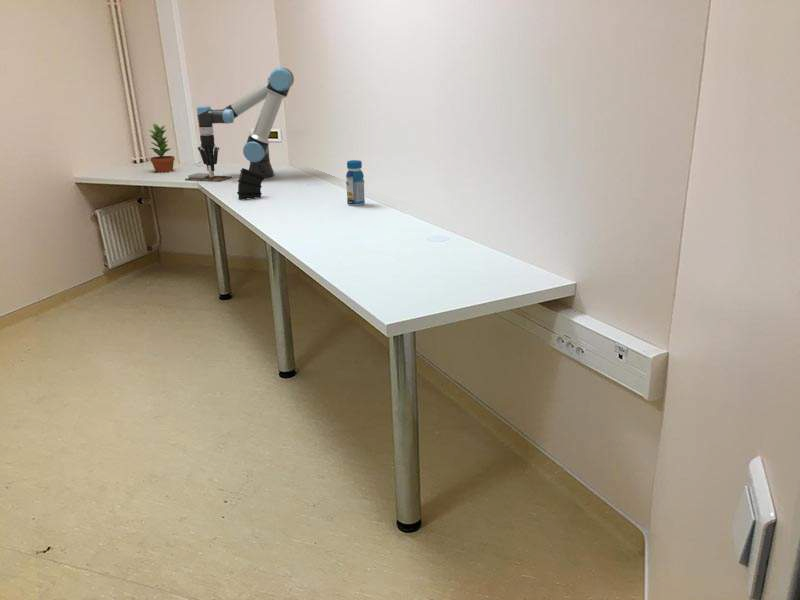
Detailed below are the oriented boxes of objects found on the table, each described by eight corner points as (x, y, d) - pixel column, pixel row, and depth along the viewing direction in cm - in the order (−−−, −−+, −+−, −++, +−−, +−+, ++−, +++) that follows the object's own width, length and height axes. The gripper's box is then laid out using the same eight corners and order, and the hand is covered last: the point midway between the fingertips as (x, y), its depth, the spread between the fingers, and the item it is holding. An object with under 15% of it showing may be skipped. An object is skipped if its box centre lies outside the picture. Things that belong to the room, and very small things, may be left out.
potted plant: (165, 174, 386) (157, 124, 376) (147, 172, 392) (139, 123, 382) (182, 170, 399) (175, 122, 388) (165, 169, 405) (157, 121, 394)
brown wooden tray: (232, 179, 362) (232, 176, 361) (219, 183, 350) (219, 180, 349) (199, 178, 369) (198, 174, 368) (185, 182, 357) (184, 178, 356)
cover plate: (214, 177, 363) (213, 173, 362) (204, 180, 355) (204, 176, 354) (198, 177, 366) (197, 172, 365) (188, 179, 358) (188, 175, 357)
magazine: (231, 196, 306) (241, 167, 304) (255, 204, 314) (265, 176, 313) (234, 197, 303) (243, 168, 302) (258, 205, 311) (268, 177, 310)
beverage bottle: (362, 206, 286) (361, 162, 279) (345, 206, 288) (342, 162, 281) (366, 202, 294) (365, 159, 287) (349, 202, 296) (347, 159, 288)
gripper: (192, 135, 348) (198, 177, 356) (212, 135, 344) (217, 178, 352) (200, 133, 355) (206, 175, 363) (220, 134, 351) (225, 176, 359)
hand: (211, 176), depth 358 cm, fingers closed
